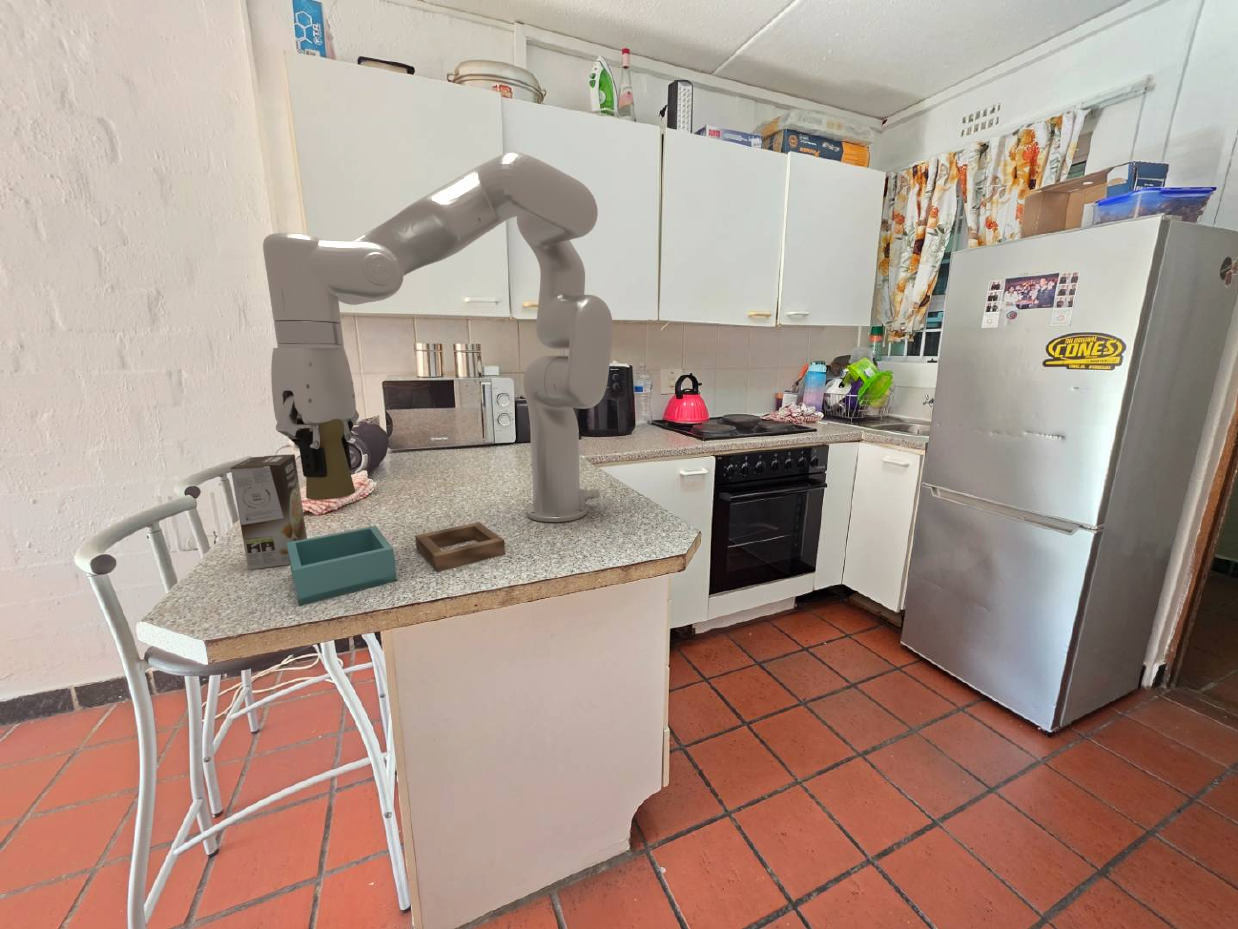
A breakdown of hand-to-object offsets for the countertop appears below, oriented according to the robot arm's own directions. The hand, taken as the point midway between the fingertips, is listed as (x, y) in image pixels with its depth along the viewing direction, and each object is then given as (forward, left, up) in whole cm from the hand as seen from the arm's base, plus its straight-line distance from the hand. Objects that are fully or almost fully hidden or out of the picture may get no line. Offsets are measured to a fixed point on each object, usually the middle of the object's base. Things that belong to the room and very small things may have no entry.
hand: (328, 471), depth 68 cm
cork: (0, 0, -3) cm, 3 cm away
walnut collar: (-17, +1, -16) cm, 23 cm away
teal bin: (0, 0, -16) cm, 16 cm away
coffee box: (+7, -15, -16) cm, 23 cm away
